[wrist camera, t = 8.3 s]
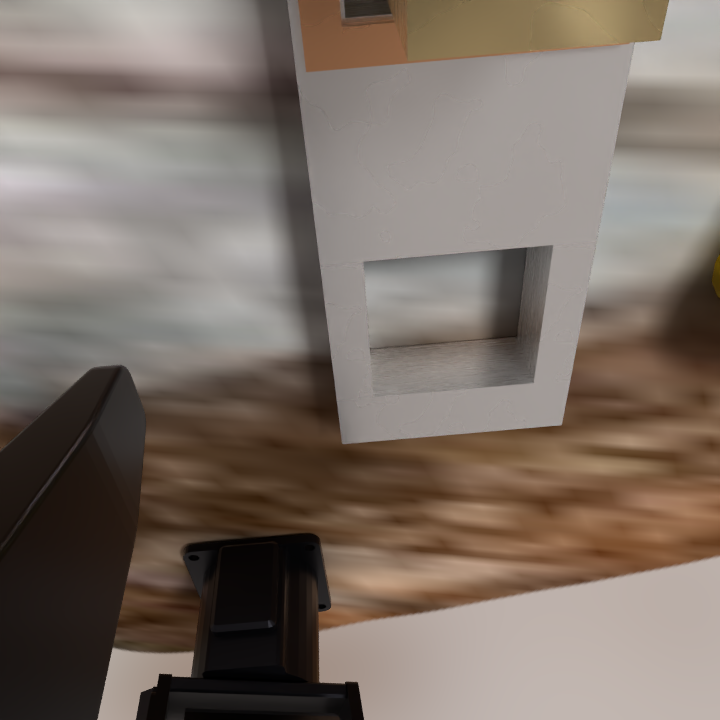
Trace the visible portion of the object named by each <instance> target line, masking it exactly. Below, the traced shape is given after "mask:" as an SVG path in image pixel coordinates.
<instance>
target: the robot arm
mask: <svg viewBox="0 0 720 720" xmlns="http://www.w3.org/2000/svg"><path fill="white" fill-rule="evenodd" d="M145 432H146V418H145V412H144V409H143V406H142V403H141V401H140V398H139V395H138V393H137V390H136V387H135V385H134V382H133V379H132V377H131V374H130V372H129V371H128V369H127V368H126V367H125V366H123V365H111V366H100V367H94V368H92V369H90V370H89V371H88V372H87V373H86V374H84V375H83V376H82V377H81V378H80V379H79V380H78V381H77V382H76V383H74V384H73V385H72V386H71V387H70V388H69V389H68V390H67V391H66V392H65V393H63V394H62V395H61V396H60V397H59V398H58V399H57V400H56V401H55V402H54V403H52V404H51V405H50V406H49V407H48V408H47V409H46V410H45V411H44V412H43V413H41V414H40V415H39V416H38V417H37V418H36V419H35V420H34V421H33V422H31V423H30V424H29V425H28V426H27V427H26V428H25V429H24V430H23V431H22V432H20V433H19V434H18V435H17V436H16V437H15V438H14V439H13V440H12V441H11V442H9V443H8V444H7V445H6V446H5V447H4V448H3V449H2V450H1V451H0V720H97V719H98V714H99V709H100V704H101V700H102V694H103V690H104V686H105V680H106V676H107V671H108V666H109V661H110V657H111V652H112V648H113V643H114V638H115V633H116V629H117V624H118V619H119V614H120V610H121V605H122V600H123V595H124V591H125V586H126V581H127V576H128V572H129V567H130V562H131V557H132V553H133V548H134V542H135V537H136V531H137V524H138V515H139V503H140V492H141V480H142V468H143V456H144V444H145ZM183 559H184V561H185V564H186V566H187V568H188V571H189V573H190V575H191V578H192V580H193V582H194V585H195V587H196V589H197V592H198V594H199V596H200V599H201V603H200V611H199V618H198V626H197V634H196V642H195V650H194V659H193V666H192V674H191V677H172V674H159V679H158V684H157V687H153V688H152V689H149V690H146V691H144V692H141V695H140V701H139V706H138V711H137V718H136V720H364V717H363V711H362V705H361V699H360V692H359V686H358V682H345V684H338V683H337V684H336V683H319V622H318V612H321V611H326V610H329V609H330V608H331V597H330V592H329V586H328V581H327V576H326V570H325V565H324V559H323V554H322V548H321V543H320V539H319V537H317V536H315V535H298V536H286V537H275V538H263V539H252V540H241V541H229V542H218V543H206V544H195V545H189V546H187V547H186V548H185V549H184V555H183Z"/></svg>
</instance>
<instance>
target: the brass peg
mask: <svg viewBox="0 0 720 720" xmlns="http://www.w3.org/2000/svg"><path fill="white" fill-rule="evenodd" d="M387 1H388V4H389V7H390V10H391V13H392V16H393V19H394V22H395V25H396V28H397V31H398V34H399V37H400V40H401V43H402V46H403V49H404V52H405V55H406V57H407V60H408V61H416V60H428V59H440V58H452V57H464V56H476V55H488V54H500V53H512V52H524V51H536V50H548V49H560V48H572V47H584V46H596V45H608V44H620V43H632V42H644V41H656V40H660V39H661V35H662V30H663V25H664V21H665V16H666V12H667V7H668V2H669V0H387Z"/></svg>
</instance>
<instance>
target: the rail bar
mask: <svg viewBox="0 0 720 720" xmlns="http://www.w3.org/2000/svg"><path fill="white" fill-rule="evenodd" d="M287 4H288V12H289V20H290V28H291V36H292V44H293V52H294V60H295V68H296V76H297V84H298V92H299V100H300V109H301V117H302V125H303V133H304V141H305V149H306V157H307V165H308V173H309V181H310V189H311V197H312V205H313V213H314V221H315V229H316V237H317V245H318V253H319V261H320V269H321V277H322V285H323V293H324V301H325V310H326V318H327V326H328V334H329V342H330V350H331V358H332V366H333V374H334V382H335V390H336V398H337V406H338V414H339V422H340V430H341V438H342V444H350V443H362V442H373V441H385V440H396V439H407V438H419V437H430V436H442V435H453V434H464V433H476V432H487V431H499V430H510V429H522V428H533V427H544V426H556V425H562V421H563V415H564V410H565V405H566V400H567V394H568V389H569V384H570V379H571V373H572V368H573V363H574V358H575V353H576V347H577V342H578V337H579V332H580V326H581V321H582V316H583V311H584V305H585V300H586V295H587V290H588V285H589V279H590V274H591V269H592V264H593V258H594V253H595V248H596V243H597V237H598V232H599V227H600V222H601V216H602V211H603V206H604V201H605V196H606V190H607V185H608V180H609V175H610V169H611V164H612V159H613V154H614V148H615V143H616V138H617V133H618V127H619V122H620V117H621V112H622V107H623V101H624V96H625V91H626V86H627V80H628V75H629V70H630V65H631V59H632V54H633V49H634V44H635V42H632V43H620V44H608V45H596V46H584V47H572V48H560V49H548V50H536V51H524V52H512V53H500V54H488V55H476V56H464V57H452V58H440V59H428V60H416V61H408V60H407V57H406V55H405V52H404V49H403V46H402V43H401V40H400V37H399V34H398V31H397V28H396V25H395V22H394V19H393V16H392V13H391V10H390V7H389V4H388V1H387V0H287ZM524 247H527V252H526V261H525V270H524V279H523V288H522V296H521V305H520V314H519V323H518V332H517V337H508V338H496V339H485V340H474V341H462V342H451V343H439V344H428V345H417V346H405V347H394V348H382V349H371V350H370V346H369V333H368V319H367V305H366V292H365V278H364V265H363V262H364V261H376V260H387V259H399V258H410V257H421V256H433V255H444V254H456V253H467V252H479V251H490V250H501V249H513V248H524Z"/></svg>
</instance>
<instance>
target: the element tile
mask: <svg viewBox="0 0 720 720" xmlns="http://www.w3.org/2000/svg"><path fill="white" fill-rule="evenodd" d="M712 283H713V286H714V289H715V292H716V294H717V296H718V297H719V298H720V254H719V256H718V258H717V260H716V262H715V266H714V271H713V277H712Z"/></svg>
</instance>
